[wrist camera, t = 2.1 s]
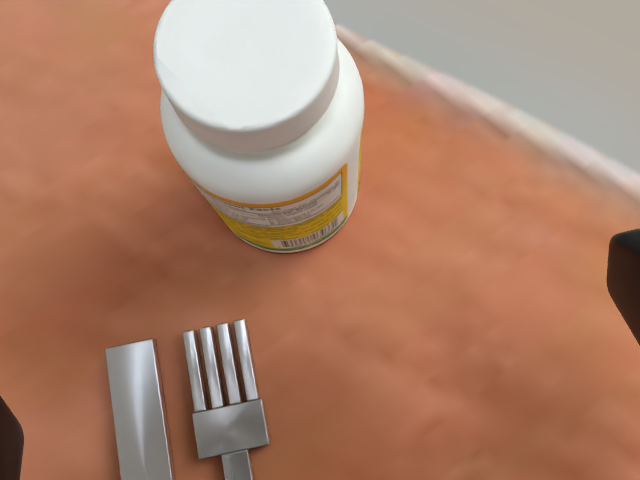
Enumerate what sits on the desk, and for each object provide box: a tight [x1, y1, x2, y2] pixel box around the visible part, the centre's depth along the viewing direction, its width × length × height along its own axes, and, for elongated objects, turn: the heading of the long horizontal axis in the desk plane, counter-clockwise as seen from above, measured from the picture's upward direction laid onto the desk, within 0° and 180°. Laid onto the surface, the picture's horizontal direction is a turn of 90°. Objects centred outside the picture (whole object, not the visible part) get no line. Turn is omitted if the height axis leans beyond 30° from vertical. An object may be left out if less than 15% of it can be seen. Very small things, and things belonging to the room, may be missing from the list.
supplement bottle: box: [153, 0, 364, 253], centre depth 17 cm, size 5×5×10 cm
